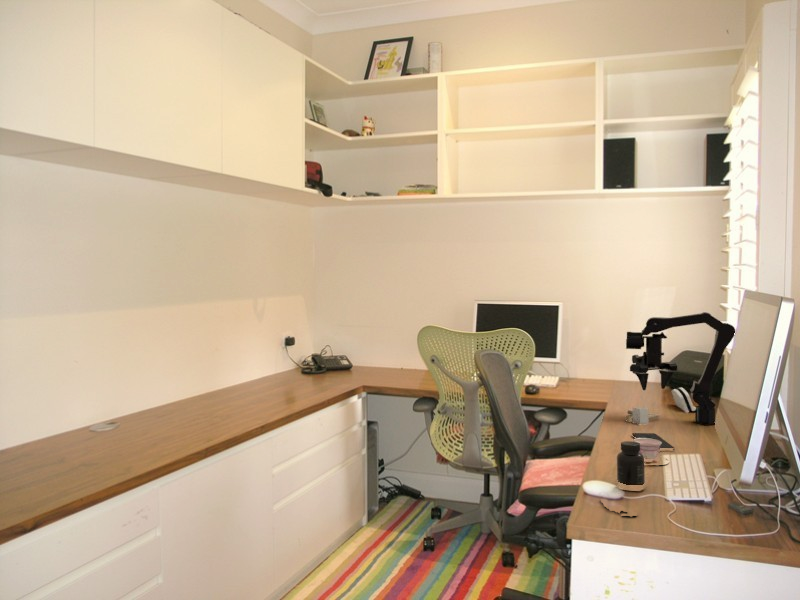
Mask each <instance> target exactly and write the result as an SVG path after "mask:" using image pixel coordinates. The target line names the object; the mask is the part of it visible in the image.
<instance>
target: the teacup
mask: <svg viewBox="0 0 800 600" xmlns="http://www.w3.org/2000/svg"><path fill="white" fill-rule="evenodd" d="M632 442H637V443H640V452H639V453H641V454H642V455H643V456H644V458H645V459H655V458H657V456H659V455H660V453H661V451H660V447H659V446H660V445H661V444H662V442H661V441H659V440H655V439H650V438H635V439H634V438H633V440H632ZM657 450H658V451H657Z"/></svg>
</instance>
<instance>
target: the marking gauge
mask: <svg viewBox="0 0 800 600" xmlns="http://www.w3.org/2000/svg"><path fill="white" fill-rule="evenodd" d="M627 414H628V415H633V422H634V423H637V424H636V425H638V424H646V425H649V421H648V417H649V408H648V407H643V406H633V407H632V410H629V409H628V410H627ZM634 423H633V424H634Z"/></svg>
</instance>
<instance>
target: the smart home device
mask: <svg viewBox="0 0 800 600" xmlns="http://www.w3.org/2000/svg"><path fill="white" fill-rule="evenodd" d="M631 434H632V435H633V436H634V437H636V438H650V439H655V440H659V441H661V442H662V444H661V445H660V446H659V447H660V448H674V449H675V447H674V446H673V445H672V444H670V443H669V442H667V441H666V440H665V439H663V438H662V437H661V436H659V435H658V434H657V433H655V432H652V433H651V432H649V433H648V432H647V433H646V432H633V433H631ZM632 435H631V436H632Z"/></svg>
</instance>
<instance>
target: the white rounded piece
mask: <svg viewBox="0 0 800 600" xmlns="http://www.w3.org/2000/svg"><path fill="white" fill-rule="evenodd" d="M671 394H672V397H673V401H674V403H675V406H677V407H678V408H680V409H681V411H683V412H685V413H687V414H688V413H690V411H692V412H695V410H696V406H694V404H693V402H692V399H691V395H689V393H688V391H687V390H686V389H685V388H683V387H677V388H674V389H672V390H671Z"/></svg>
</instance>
